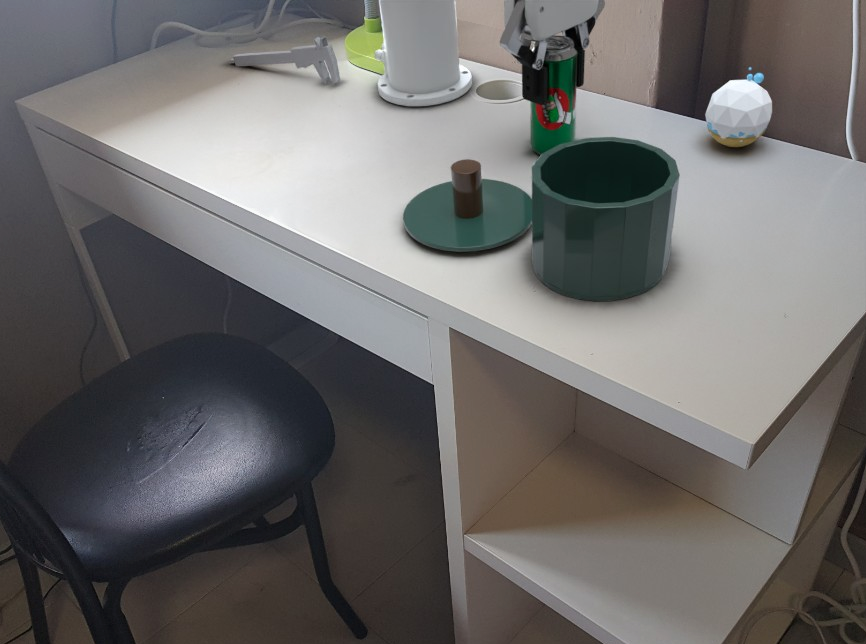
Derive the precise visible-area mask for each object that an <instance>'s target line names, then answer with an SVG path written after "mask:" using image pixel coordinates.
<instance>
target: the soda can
mask: <svg viewBox="0 0 866 644" xmlns="http://www.w3.org/2000/svg"><path fill="white" fill-rule="evenodd" d="M574 44H575V43H574V40H573V39H571V38H569V37H566V36H563V35H553V36H551V37H549V38H548V42H547V47H546V53H545V58H544V63H543V66H544V67H547V70H548V80H547V103H546V104H544V105H539V104H536V103H534V102H531V101H529V110H530V111H529V114H530V115H529V117H530V118H529V121H530V122H529V123H530V124H529V125H530V126H529V127H530V128H529V130H530V131H529V135H530V141H529V143H530V144H529V145H530V147H531V149H532V150H533V151H534V152H535V153H536V154H537V155H540V156H541V154H543V153H544V152H546V151H548V150H550V149H552V148H554V147H556V146H558V145H560V144H563V143H567V142H571V141H576V118H577V117H576V116H577V88H578V87H577V58H578V52H577V50H576V48H575V46H574ZM535 45H536V42H534V41H533V47H532V49H531V50H532V51H533V52H534V50H535Z"/></svg>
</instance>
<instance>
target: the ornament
mask: <svg viewBox="0 0 866 644" xmlns="http://www.w3.org/2000/svg"><path fill="white" fill-rule="evenodd" d="M752 69H753V68H752V67H751V66H749V67H748V68H747V71H752ZM764 80H765V76H764V74H763V73H762V72H757V73H755V74H754V75H753V73H748V74H747V75H746V79H732V80H731V79H730V80H729V81H728V82H726V83H725V84H724V85H722V86H721V87H719V88H718V89H717V90H716V91H714V92H713V93H712V94H711V97H710V100H709V103H708V105H707V109H706V111H705V113H704V116H705V121H706V128H707V130H708V133H709V134H710V136H711V137H712V138H713V140H715V141H716V142H717V143H718V144H721V145H723V146H725V147H728V148H741V147H745V146H748V145H751V144H753V143H754V142H755V141H757V140H758V139H760V138H761V137H762V136H763V135H764V134H765V132H766V131H767V128H768V126H769V123H770V121H771V118H772V114H773V100H772V99H771V96H770V94H769V91H768V90H766V89H765V88H763V87H762V86H760V84H762V82H763V81H764Z"/></svg>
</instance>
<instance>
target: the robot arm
mask: <svg viewBox="0 0 866 644" xmlns="http://www.w3.org/2000/svg"><path fill="white" fill-rule="evenodd" d="M378 4H379V12H380V20H381V28H382V36H383V42H382V44H381V49H376V50H375V52H374V54H373V55H374V56H373V57H374V60H376V61H379V62H381V63H383V69H384V73H383V74H382V75H381V76H380V77H379V79H378V81H377V90H378V94H379V96H380V97H381V98H382V99H383V100H385V101H386V102H389V103H391V104H395V105H398V106H405V107H428V106H435V105H440V104H445V103H448V102H451V101H454V100H457V99H458V98H460V97H461V96H464V95H465V94H467V92H468V91H469V90H470V89H471V88H472V86H473V75H472V73H471V71H470V69H468V68H467V67H466V66H463V65H462V64H460V53H459V37H458V21H457V20H458V19H457V6H456V0H378ZM605 5H606V2H605V0H503V25H504V30H503V32H502V34H501V37H500V40H499V46H500V47H501V48H503V49H504V50H505V51H506V52H508V53H510V55H512V57H513V58H514V59H515V60H516V63H517V64H519V65H521V90H522V91H521V93H522V94H521V95H522V98H523V99H524V100H526V101H529V102H530V101H531V102H534V103H536V104H539V105H544V104H546V103H547V80H548V70H547V67H544V66H543V63H544V58H545V53H546V47H547V42H548V38H549V37H551V36H557V35H558V34H560V33H561V36H566V37H569V38H571V39H573V40H574V43H575V44H574V46H575V48H576V50H577V52H578V58H577V88H581V87H583V86H584V85H585V84H584V82H585V61H586V59H585V58H586V57H585V56H586V50H585V49H587V48H588V47H589V46H590V42H591V41H590V36H591V33H592V31H593V30H594V27H595V25H596V22H597V20H598V18H599V16H600V15H601V14H602V12H603V10H604V9H605ZM532 42H533V43H534V42H536V45H535V50H534V52H533V51H532V49H531V45H532Z"/></svg>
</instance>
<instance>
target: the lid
mask: <svg viewBox="0 0 866 644" xmlns="http://www.w3.org/2000/svg"><path fill="white" fill-rule="evenodd" d="M450 175H451V176H450V177H451V180H449V181H446V182H442V183H439V184H436V185H433V186H431V187H428V188H426V189H424V190H423V191H421V192H419V193H418V194H416V195H415V196H414V197H413V198H411V200H410V201H409V202H408V203H407V204H406V206H405V208H404V211H403V214H402V221H403V226H404V228H405V231H406V232H407V233H408V235H409V236H410V237H412V239H414V240H415V241H416V242H418V243H421V244H422V245H424V246H426V247H429V248H432V249H437V250H439V251H440V250H441V251H447V252H456V253H457V252H459V253H462V252H463V253H464V252H466V253H467V252H478V251H484V250H485V251H486V250H490V249H495V248H497V247H500V246H504V245H506V244H509V243H511V242H513V241H515V240H516V239H518V238H520V237H521V236H522V235H524V233H526V232H527V231H528V230H529V229H530V228H531V227H532V196H531V195H529V194H528V193H527V192H526V191H525V190H523V189H522V188H520V187H518V186H516V185H513V184H511V183H509V182H505V181H503V180H496V179H490V178H483V175H482V164H481V163H480V162H479V160H475V159H472V158H471V159H469V158H464V159H460V160H457V161H455V162H453V163H452V164H451V166H450Z"/></svg>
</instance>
